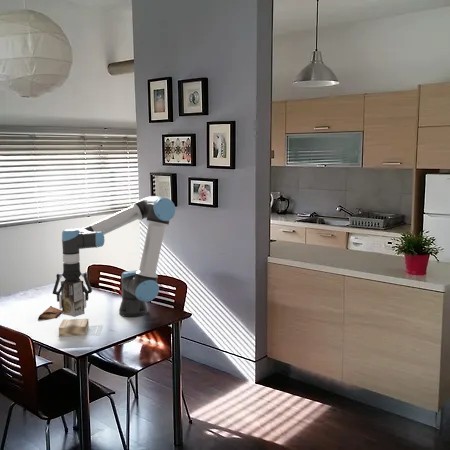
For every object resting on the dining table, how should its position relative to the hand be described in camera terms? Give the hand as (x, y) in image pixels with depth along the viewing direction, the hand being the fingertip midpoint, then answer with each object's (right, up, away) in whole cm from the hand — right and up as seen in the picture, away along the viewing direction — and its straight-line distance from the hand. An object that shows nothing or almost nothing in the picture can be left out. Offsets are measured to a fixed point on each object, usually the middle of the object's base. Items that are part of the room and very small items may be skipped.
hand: (73, 307), depth 239 cm
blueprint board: (+3, -13, +2) cm, 13 cm away
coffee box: (0, -3, 0) cm, 3 cm away
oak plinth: (0, -12, +2) cm, 12 cm away
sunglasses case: (-20, -10, +27) cm, 35 cm away
